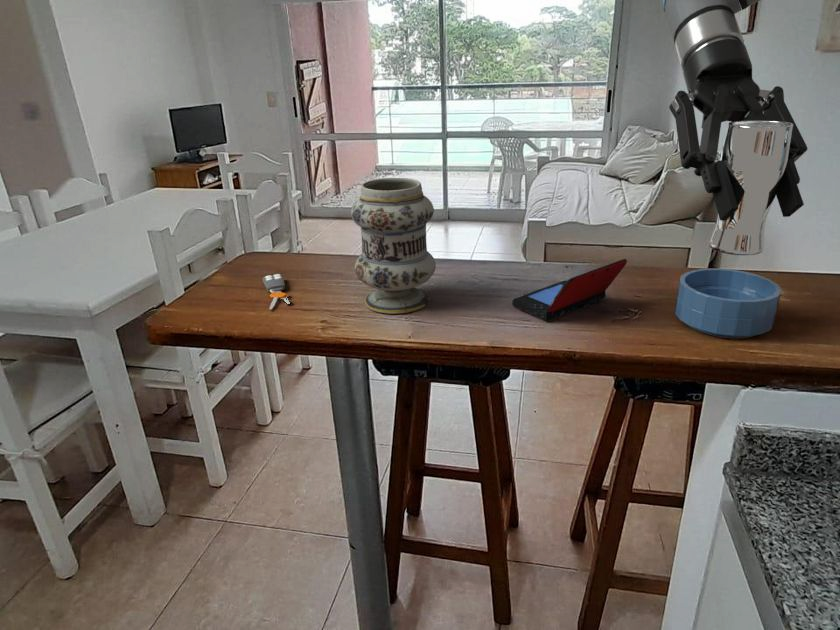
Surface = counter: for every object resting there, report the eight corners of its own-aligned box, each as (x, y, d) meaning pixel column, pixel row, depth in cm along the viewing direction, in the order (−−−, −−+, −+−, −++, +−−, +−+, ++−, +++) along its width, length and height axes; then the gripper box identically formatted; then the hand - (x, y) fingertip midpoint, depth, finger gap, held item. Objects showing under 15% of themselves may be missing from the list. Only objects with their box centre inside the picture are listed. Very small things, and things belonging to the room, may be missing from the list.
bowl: (728, 300, 83) (735, 264, 80) (793, 334, 72) (803, 294, 70) (656, 310, 80) (662, 274, 78) (713, 347, 70) (721, 306, 68)
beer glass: (692, 244, 74) (712, 123, 68) (732, 236, 76) (755, 118, 70) (739, 260, 68) (766, 129, 62) (780, 251, 70) (810, 123, 64)
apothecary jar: (427, 320, 81) (422, 193, 73) (347, 315, 83) (334, 192, 76) (443, 288, 91) (440, 174, 84) (371, 285, 94) (362, 174, 86)
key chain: (261, 283, 97) (259, 274, 96) (283, 279, 98) (282, 271, 97) (269, 311, 86) (267, 302, 85) (294, 307, 87) (293, 298, 86)
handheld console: (567, 285, 90) (570, 240, 87) (624, 306, 82) (630, 257, 79) (508, 306, 84) (509, 258, 81) (564, 331, 76) (568, 279, 73)
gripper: (770, 76, 78) (822, 223, 71) (627, 83, 78) (664, 232, 70) (805, 32, 71) (868, 190, 63) (649, 39, 71) (692, 200, 63)
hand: (761, 212), depth 67 cm, fingers closed on beer glass, 7 cm apart
